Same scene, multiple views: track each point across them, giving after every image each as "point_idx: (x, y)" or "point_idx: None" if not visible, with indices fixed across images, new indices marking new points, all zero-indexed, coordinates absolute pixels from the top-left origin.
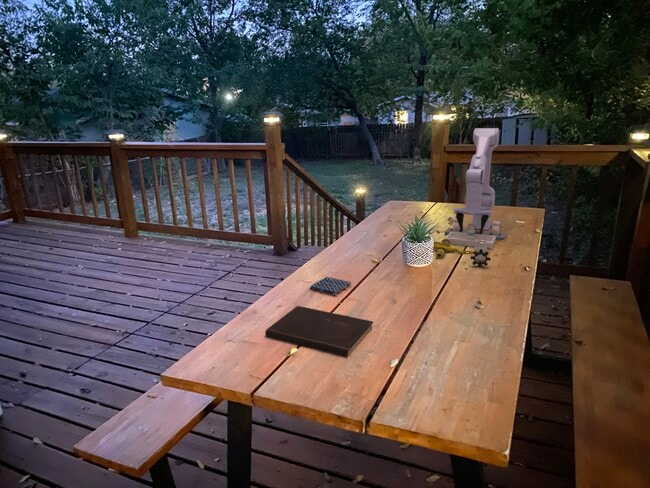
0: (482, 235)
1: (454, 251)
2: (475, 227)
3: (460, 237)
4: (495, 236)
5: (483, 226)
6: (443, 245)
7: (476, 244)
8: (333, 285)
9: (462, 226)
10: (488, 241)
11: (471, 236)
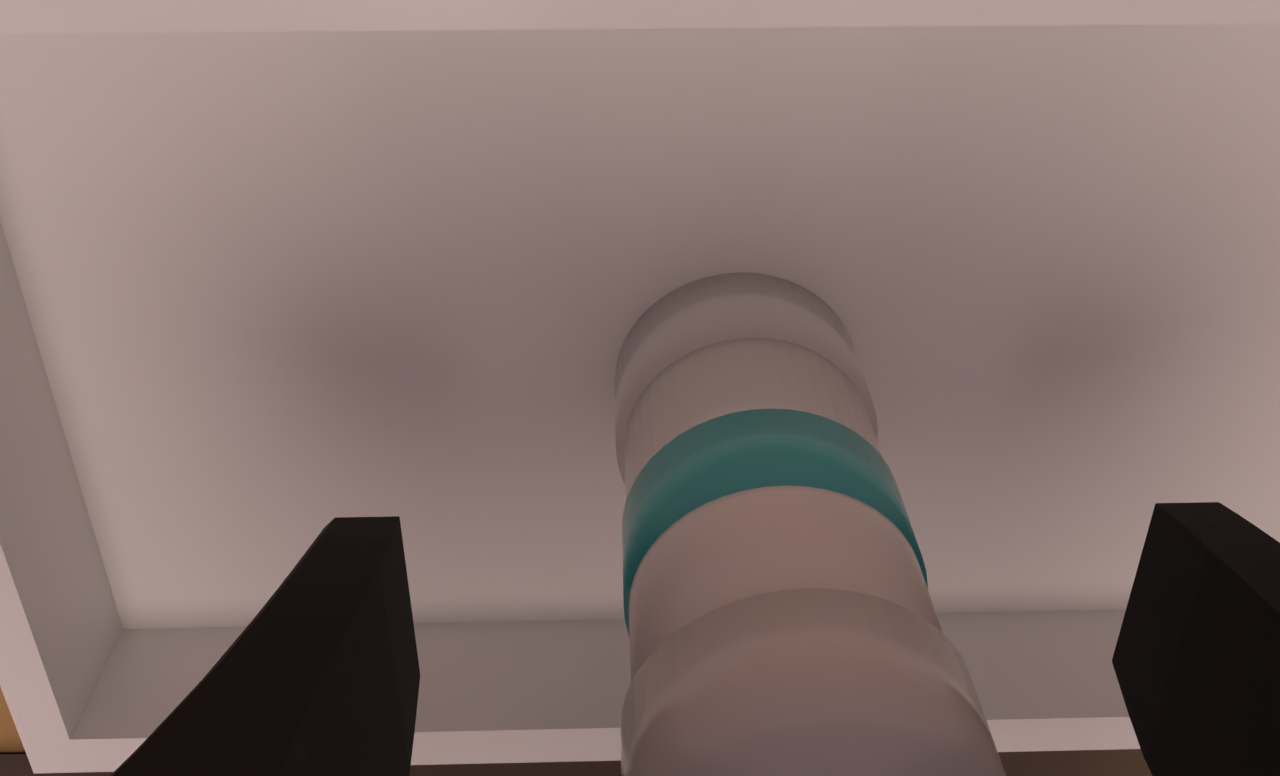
0: (429, 727)
1: None
2: (621, 768)
3: (1061, 615)
4: (34, 751)
5: (134, 757)
6: None
7: None
8: None
9: (1231, 762)
10: (246, 568)
11: (724, 402)
